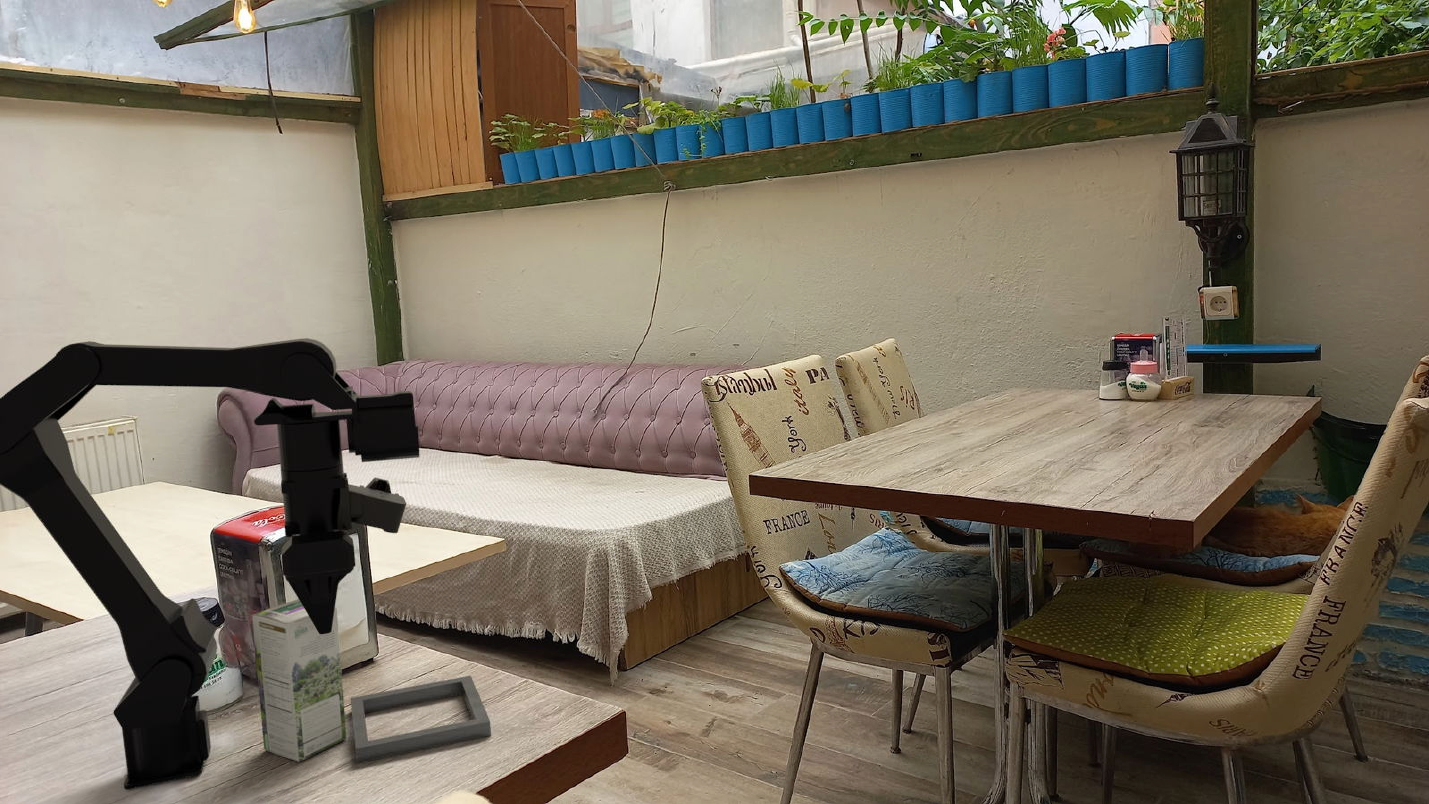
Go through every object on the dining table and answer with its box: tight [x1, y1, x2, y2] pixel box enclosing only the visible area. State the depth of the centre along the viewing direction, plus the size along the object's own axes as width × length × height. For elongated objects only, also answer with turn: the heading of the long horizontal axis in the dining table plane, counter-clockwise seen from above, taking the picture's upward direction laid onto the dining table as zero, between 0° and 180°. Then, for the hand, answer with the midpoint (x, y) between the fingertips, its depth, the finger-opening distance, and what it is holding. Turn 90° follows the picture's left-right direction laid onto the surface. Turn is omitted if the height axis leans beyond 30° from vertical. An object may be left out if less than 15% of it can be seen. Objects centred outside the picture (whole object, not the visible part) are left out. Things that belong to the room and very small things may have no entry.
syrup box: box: [251, 598, 347, 763], centre depth 97 cm, size 6×6×14 cm
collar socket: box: [350, 675, 492, 764], centre depth 102 cm, size 13×13×2 cm
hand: (324, 618), depth 98 cm, fingers open, 9 cm apart
